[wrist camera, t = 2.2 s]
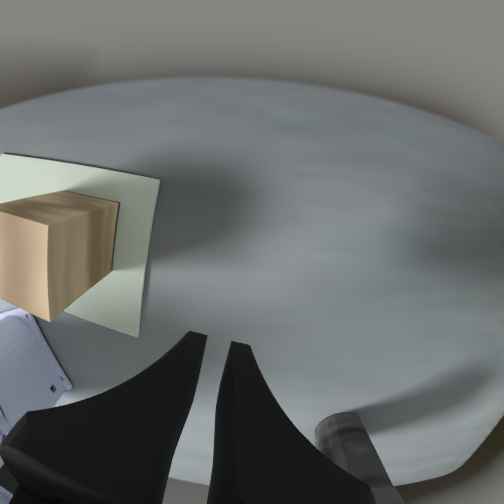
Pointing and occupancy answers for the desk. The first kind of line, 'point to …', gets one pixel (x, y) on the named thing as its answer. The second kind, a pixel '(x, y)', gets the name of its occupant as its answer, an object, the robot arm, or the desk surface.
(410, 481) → the desk surface
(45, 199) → the tan block
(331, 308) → the desk surface
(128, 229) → the mat
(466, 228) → the desk surface
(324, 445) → the beverage cup
